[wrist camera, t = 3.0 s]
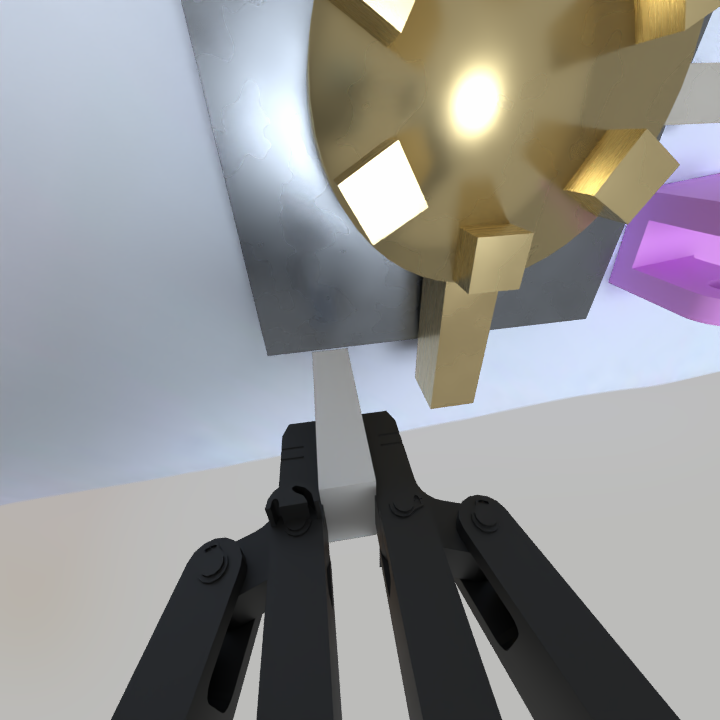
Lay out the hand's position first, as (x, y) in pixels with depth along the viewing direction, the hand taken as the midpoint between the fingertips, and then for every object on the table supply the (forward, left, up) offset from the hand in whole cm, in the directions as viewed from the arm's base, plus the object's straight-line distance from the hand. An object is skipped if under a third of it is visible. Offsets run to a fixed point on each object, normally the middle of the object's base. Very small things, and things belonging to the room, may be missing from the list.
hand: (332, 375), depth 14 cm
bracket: (+25, +4, -7) cm, 26 cm away
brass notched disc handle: (+6, +6, -3) cm, 9 cm away
